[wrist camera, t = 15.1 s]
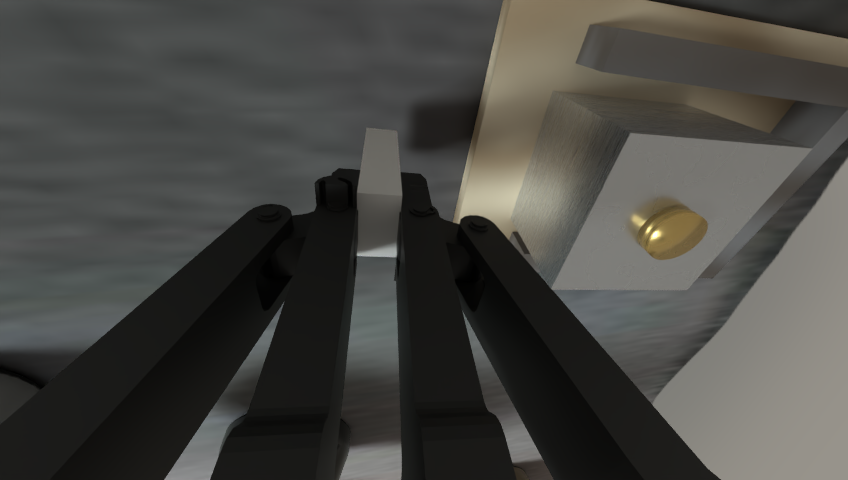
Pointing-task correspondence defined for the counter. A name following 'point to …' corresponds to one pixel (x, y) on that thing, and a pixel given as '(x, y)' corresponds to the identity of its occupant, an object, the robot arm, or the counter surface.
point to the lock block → (641, 190)
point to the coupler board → (650, 88)
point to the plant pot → (520, 474)
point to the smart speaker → (14, 392)
